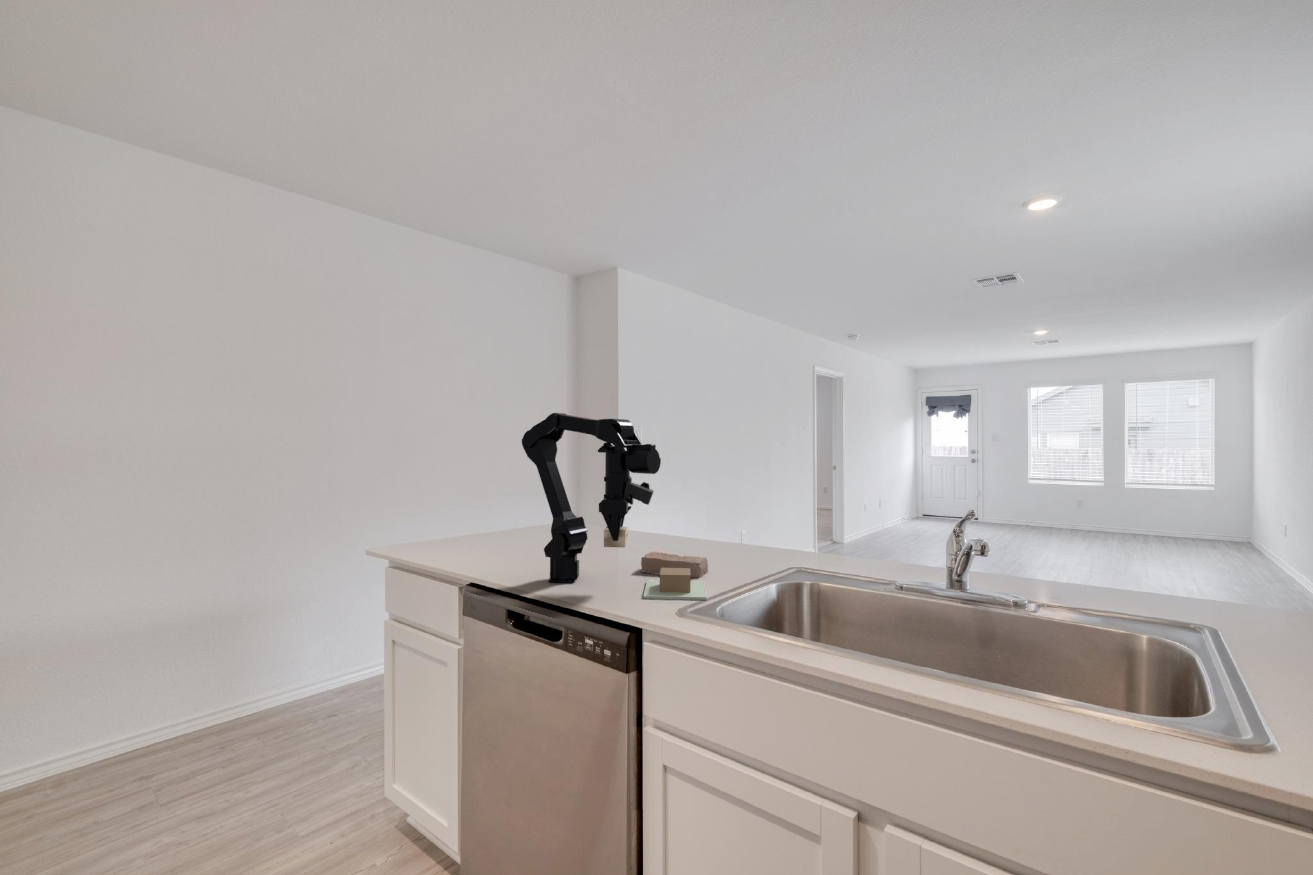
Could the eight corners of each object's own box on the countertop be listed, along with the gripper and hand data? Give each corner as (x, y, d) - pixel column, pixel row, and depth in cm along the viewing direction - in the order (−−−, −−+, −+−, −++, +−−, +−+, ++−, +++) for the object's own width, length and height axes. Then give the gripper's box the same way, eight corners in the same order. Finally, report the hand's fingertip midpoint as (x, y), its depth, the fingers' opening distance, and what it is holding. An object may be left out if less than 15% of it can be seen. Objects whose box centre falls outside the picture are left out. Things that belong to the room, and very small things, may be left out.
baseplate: (643, 598, 129) (643, 577, 129) (647, 582, 143) (647, 564, 143) (706, 600, 128) (706, 579, 128) (703, 583, 142) (704, 565, 142)
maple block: (603, 547, 134) (603, 529, 134) (606, 543, 139) (606, 526, 139) (625, 547, 133) (625, 530, 133) (627, 543, 138) (627, 526, 138)
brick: (708, 572, 156) (708, 554, 156) (700, 579, 148) (700, 561, 148) (651, 567, 161) (651, 550, 161) (640, 574, 153) (640, 556, 153)
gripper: (649, 475, 126) (648, 546, 126) (653, 470, 145) (653, 532, 145) (598, 474, 127) (598, 545, 127) (609, 469, 146) (608, 531, 146)
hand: (616, 538), depth 136 cm, fingers closed on maple block, 5 cm apart
